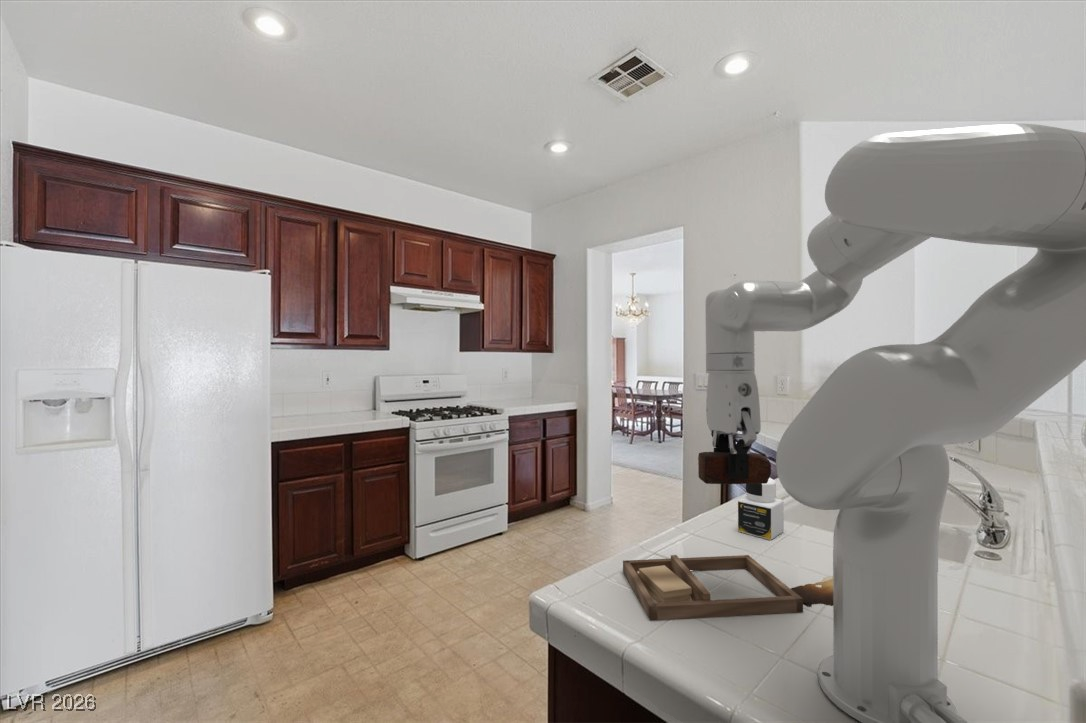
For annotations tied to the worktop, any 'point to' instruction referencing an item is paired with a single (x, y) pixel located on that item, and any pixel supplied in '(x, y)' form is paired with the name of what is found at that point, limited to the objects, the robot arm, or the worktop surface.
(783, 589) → the rack
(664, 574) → the offcut stack
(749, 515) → the medicine bottle
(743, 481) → the brick
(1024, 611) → the worktop surface
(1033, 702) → the worktop surface
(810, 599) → the parchment
